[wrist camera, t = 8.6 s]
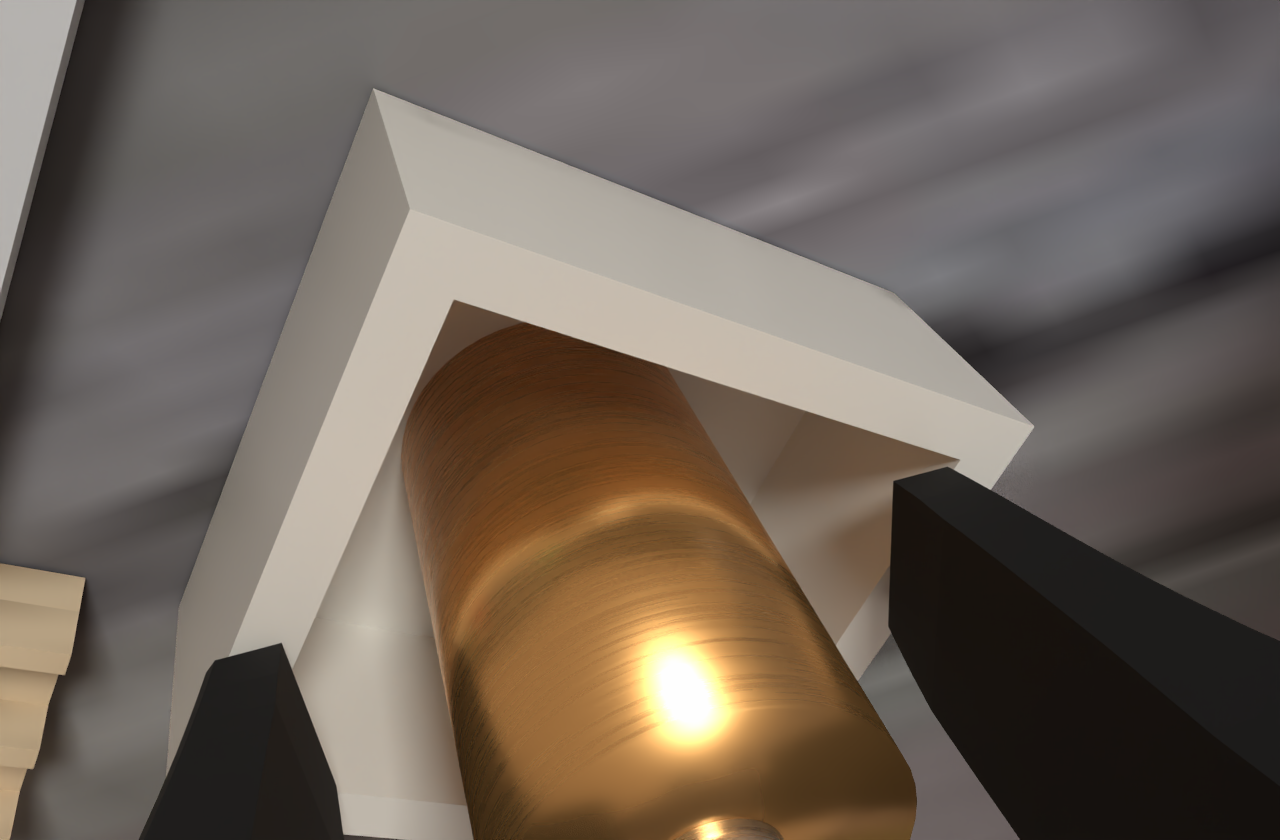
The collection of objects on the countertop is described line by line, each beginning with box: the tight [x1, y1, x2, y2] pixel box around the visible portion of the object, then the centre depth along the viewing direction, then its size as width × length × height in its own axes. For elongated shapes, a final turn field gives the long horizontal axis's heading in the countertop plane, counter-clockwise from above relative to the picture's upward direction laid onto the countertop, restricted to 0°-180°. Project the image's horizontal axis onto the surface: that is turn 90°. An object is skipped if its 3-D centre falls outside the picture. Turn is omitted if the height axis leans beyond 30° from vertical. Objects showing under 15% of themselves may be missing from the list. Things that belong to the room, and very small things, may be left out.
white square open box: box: [166, 88, 1034, 840], centre depth 13 cm, size 7×7×3 cm
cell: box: [401, 322, 917, 840], centre depth 11 cm, size 3×3×6 cm
